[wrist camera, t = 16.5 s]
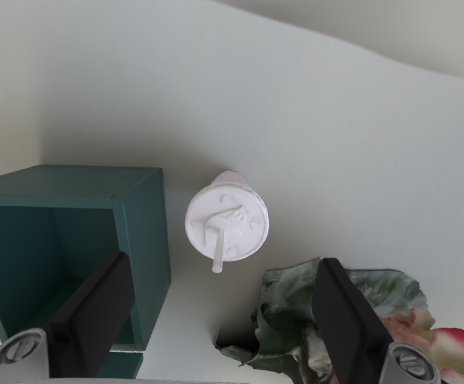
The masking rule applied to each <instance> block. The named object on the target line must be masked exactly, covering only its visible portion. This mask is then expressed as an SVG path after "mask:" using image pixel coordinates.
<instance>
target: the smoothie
mask: <svg viewBox="0 0 464 384" xmlns="http://www.w3.org/2000/svg"><path fill="white" fill-rule="evenodd" d="M268 229H269V219H268V212H267V208H266V206H265V204H264V202H263V200H262V199H261V198H260V197H259V195H258V194H257V193H256V192H255V191H253V190H252V189H250V187H249V186H248V184H247V182H246V181H245V179H244V178H243V176H242V175H241V174H239V173H238V172H235V171H224V172H222V173H220V174H219V175H218V176H217V177H216V178H215V180H214V181H213V182H212V183H211V184H210V185H209V186H207V187H205V188H203V189H202V190H201V191H199V192H198V193H197V194H196V195H195V196H194V198H193V199H192V201H191V202H190V204H189V207H188V210H187V213H186V217H185V230H186V234H187V236H188V238H189V240H190V242H191V244H192V245H193V246H194V247H195V248H196V249H197V250H198V251H199V252H200V253H202V254H203V255H205V256H207V257H209V258H211V259H214V261H213V268H212V270H213V272H215V273H220V272H221V271H222V264H223V261H237V260H241V259H244V258H246V257H248V256H250V255H252V254H253V253H254V252H256V251H257V250H258V249H259V248H260V247H261V246H262V244H263V243H264V241H265V239H266V237H267V234H268Z"/></svg>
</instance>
